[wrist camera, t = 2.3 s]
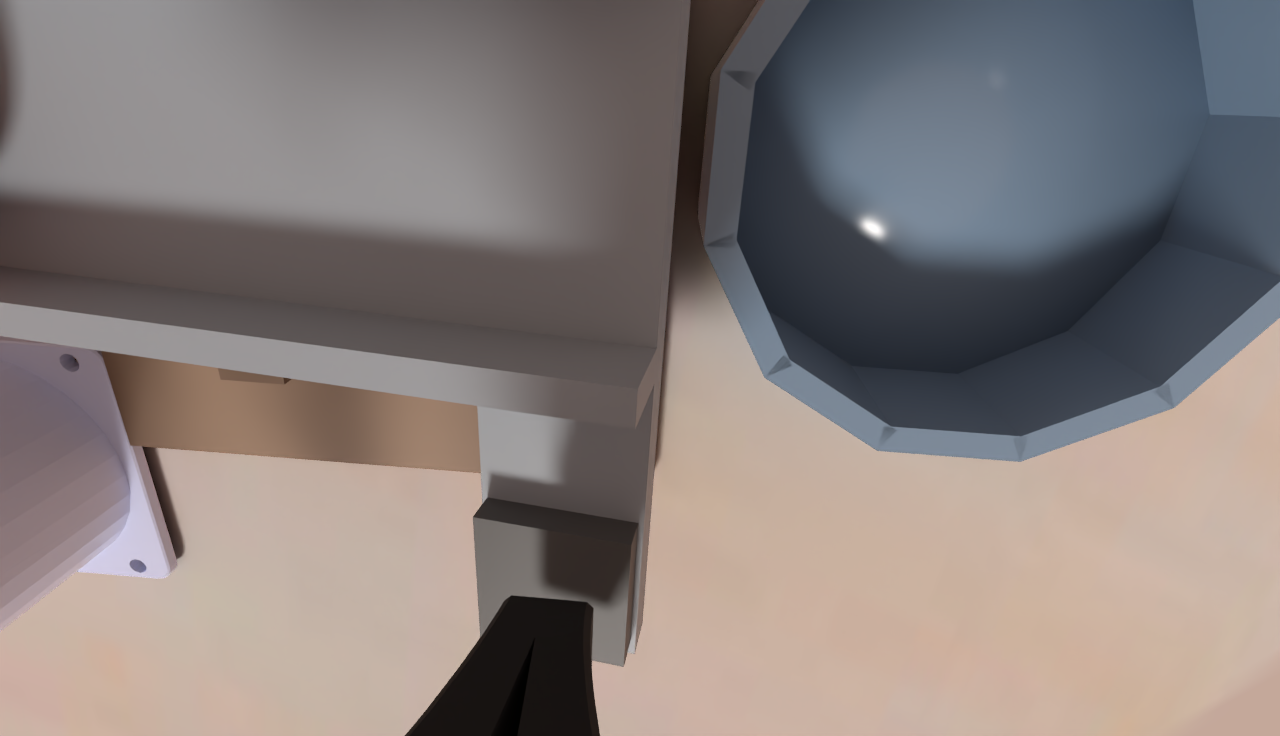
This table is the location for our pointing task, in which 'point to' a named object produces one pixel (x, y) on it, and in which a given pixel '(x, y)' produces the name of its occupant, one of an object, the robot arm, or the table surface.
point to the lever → (376, 230)
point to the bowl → (995, 209)
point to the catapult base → (287, 417)
